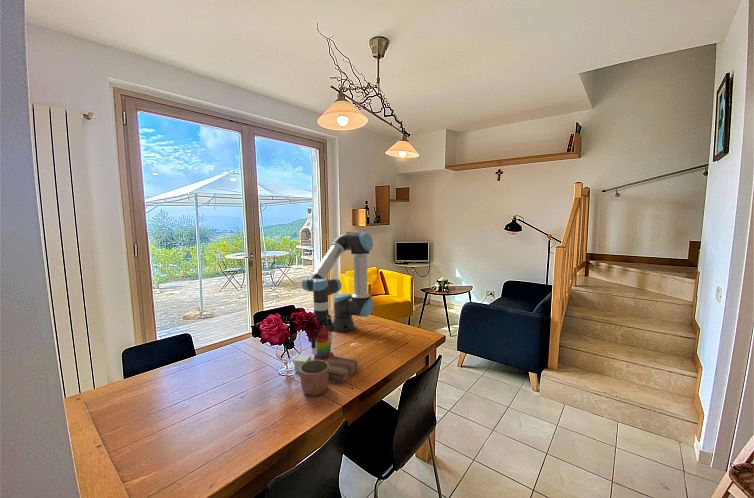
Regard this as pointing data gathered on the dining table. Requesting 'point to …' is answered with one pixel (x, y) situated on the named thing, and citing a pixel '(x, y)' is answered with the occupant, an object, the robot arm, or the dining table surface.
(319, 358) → the stacking bear
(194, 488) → the dining table surface
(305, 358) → the block
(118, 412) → the dining table surface
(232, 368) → the dining table surface
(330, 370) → the plinth
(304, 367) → the planter
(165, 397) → the dining table surface
